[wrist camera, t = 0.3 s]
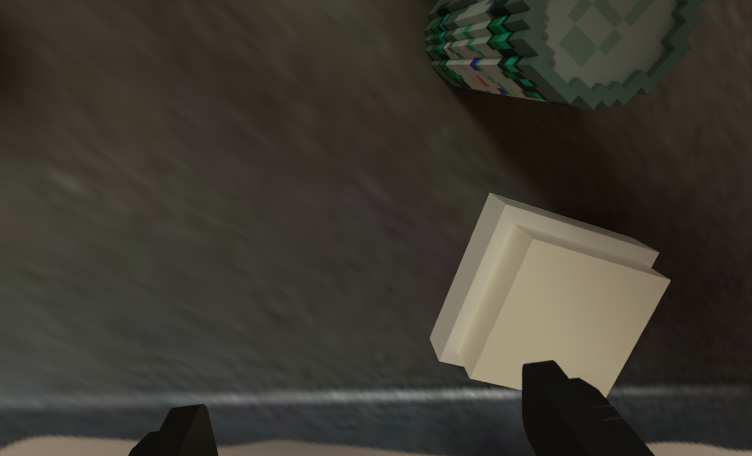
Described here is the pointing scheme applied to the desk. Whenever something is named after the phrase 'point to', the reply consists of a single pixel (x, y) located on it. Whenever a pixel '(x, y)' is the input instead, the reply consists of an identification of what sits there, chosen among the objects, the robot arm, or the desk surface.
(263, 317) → the desk surface
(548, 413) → the robot arm
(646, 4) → the can
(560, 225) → the tower base
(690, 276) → the desk surface
